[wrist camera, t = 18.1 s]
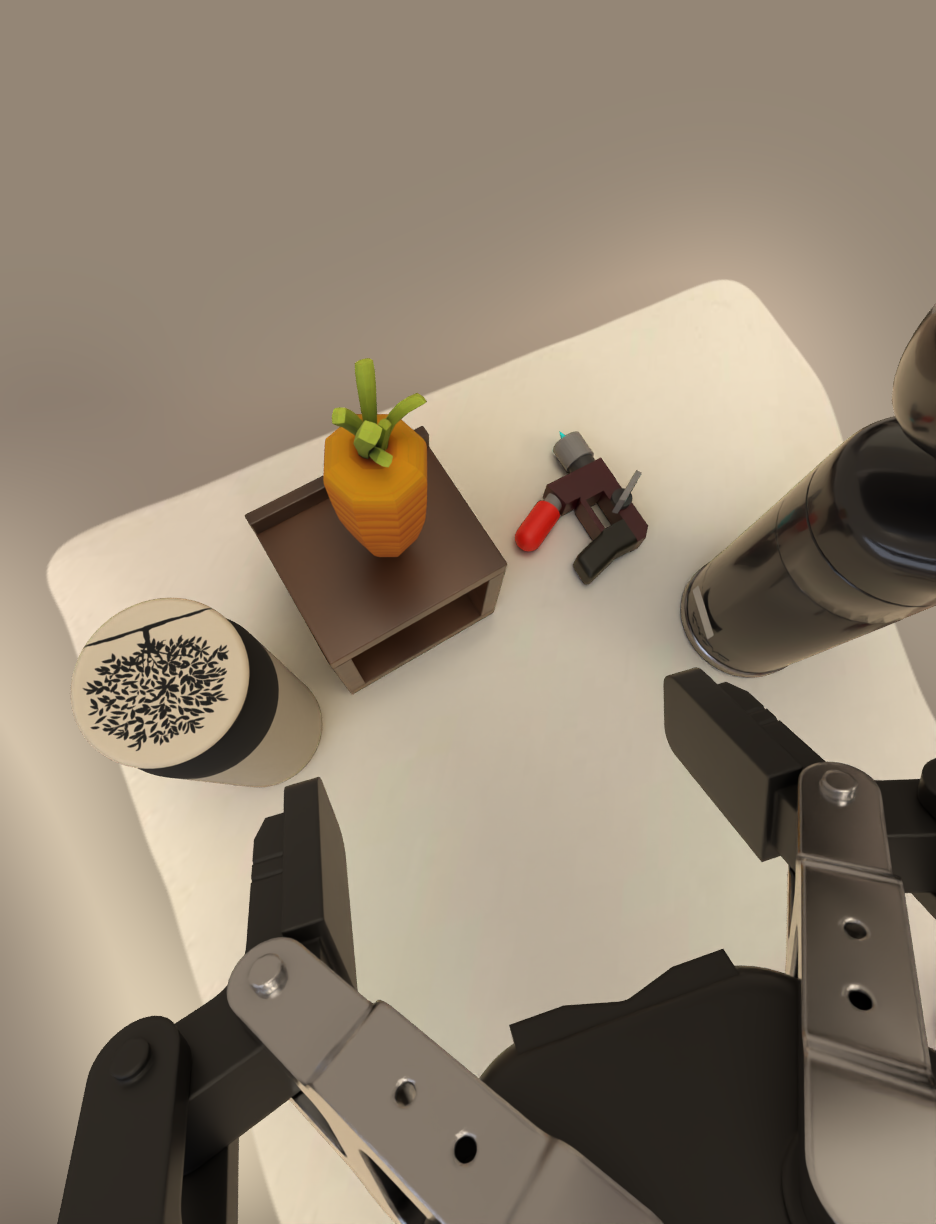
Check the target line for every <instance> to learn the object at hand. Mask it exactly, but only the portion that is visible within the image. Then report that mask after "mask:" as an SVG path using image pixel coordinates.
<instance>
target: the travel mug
mask: <svg viewBox="0 0 936 1224" xmlns="http://www.w3.org/2000/svg"><path fill="white" fill-rule="evenodd" d="M71 705H72V711H73V714H74V718H75V721H76V723H77V725H78V727H79V729H80V731H81V733H82V734H83V736H84V737H85V739H86V740H87V741H88V742H89V743H90V745H92V747H94V748H95V749H96V750H97V751H98V752H99V753H101V754H102V755H103V756H105V757H107V758H109V759H110V760H112V761H115V762H117V763H120V764H123V765H126V766H130V767H135V768H139V769H141V770H143V771H145V772H147V773H150V774H153V775H157V776H162V777H169V778H178V779H187V780H195V781H204V782H213V783H222V784H231V785H240V786H248V787H267V786H272V785H276V784H279V783H282V782H284V781H286V780H288V779H290V778H291V777H293V776H294V775H296V774H297V773H298V772H300V771H301V770H302V769H303V768H304V767H305V766H306V765H307V763H308V762H309V761H310V759H311V758H312V756H313V755H314V753H315V751H316V749H317V746H318V744H319V741H320V737H321V730H322V718H321V712H320V708H319V705H318V703H317V701H316V699H315V697H314V695H313V694H312V692H311V691H310V690H309V689H308V688H307V687H306V686H305V685H304V684H303V683H302V682H301V681H300V680H299V679H298V678H297V677H296V676H295V675H294V674H293V673H292V672H290V671H289V670H288V669H287V668H286V667H285V666H284V665H283V664H282V663H281V662H280V661H279V660H278V659H277V658H276V657H274V656H273V655H272V654H271V653H270V652H269V651H268V650H267V649H266V648H265V647H264V646H263V645H262V644H261V643H260V642H258V641H257V640H256V639H255V638H254V637H253V636H252V635H251V634H250V633H249V632H248V631H247V630H245V629H244V628H243V627H242V626H240V625H238V624H237V623H235V622H233V621H231V620H229V619H227V618H225V617H224V616H222V615H221V614H220V613H218V612H217V611H216V610H214V609H212V608H210V607H208V606H206V605H204V604H202V603H199V602H196V601H192V600H187V599H181V598H160V599H154V600H149V601H145V602H141V603H139V604H136V605H133V606H131V607H129V608H127V609H125V610H123V611H121V612H119V613H118V614H116V615H115V616H113V617H112V618H110V619H109V620H108V621H107V622H105V623H104V624H103V625H102V626H101V627H100V628H99V629H98V630H97V631H96V632H95V633H94V634H93V635H92V637H91V638H90V639H89V641H88V642H87V643H86V645H85V647H84V648H83V650H82V652H81V654H80V656H79V658H78V660H77V663H76V665H75V668H74V672H73V676H72V682H71Z"/></svg>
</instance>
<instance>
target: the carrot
mask: <svg viewBox="0 0 936 1224" xmlns="http://www.w3.org/2000/svg"><path fill="white" fill-rule="evenodd" d="M355 375H356V383H357V389H358V395H359V401H360V407H361V413H362V414H355V413H354V412H352V411H351V410H349V409H347V408H335V409H334V410H333V414H332V422H333V424H335V425H337V426H340V427H339V428H338V429H337V430H336V431H335V432H333V433H332V434H331V435H330V436H329V437H327V438H326V440H325V453H324V477H323V481H324V486H325V488H326V491H327V493H328V496H329V498H330V501H331V503H332V505H333V507H334V510H335V512H336V514H337V516H338V518H339V520H340V521H341V522H342V524H343V525H344V526H345V527H346V529H347V530H348V531H349V532H350V533H351V534H352V535H353V536H354V537H355V538H356V539H357V540H358V541H359V542H360V543H361V544H362V545H363V546H364V547H365V548H366V549H368V550H369V551H370V552H371V553H372V554H373V555H374V556H377V557H398V556H399V555H400V554H401V553H403V552H404V551H405V550H406V549H407V548H408V547H409V546H410V545H411V544H412V543H413V542H414V541H415V540H416V539H417V538H418V536H419V534H420V532H421V530H422V527H423V524H424V522H425V518H426V507H427V445H426V442H425V441H424V439H423V438H422V437H421V436H419V435H418V434H417V433H416V432H415V431H414V430H413V429H411V428H410V427H409V426H408V425H407V424H406V423H405V422H403V421H402V420H401V419H402V418H403V417H404V416H405V415H406V414H408V413H409V412H411V411H412V410H414V409H416V408H418V407H420V406H421V405H423V404H425V403H426V402H427V401H426V400H425V398H424V397H423V396H421V395H420V394H418V393H416V394H413V395H411V396H409V397H407V398H406V399H404V400H403V401H401V402H399V403H398V404H397V405H396V406H395V407H394V408H393V409H392V410H391V412H390V413H389V414H377V404H376V382H375V370H374V365H373V360H371V359H370V358H367V359H362V360H359V361H358V362H356V363H355Z"/></svg>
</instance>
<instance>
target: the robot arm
mask: <svg viewBox="0 0 936 1224" xmlns="http://www.w3.org/2000/svg"><path fill="white" fill-rule="evenodd" d="M892 404H893V408H894V414H895V416H894V417H890V418H886V419H884V420H880V421H877V422H875V423H872V424H870V425H868V426H866V427H864V428H862V429H861V430H859V431H858V432H856V433H855V434H853V435H852V436H851V437H849V438H848V439H847V440H846V441H844V442H843V443H842V444H841V445H840V446H839V447H838V448H836V449H835V450H834V451H833V452H832V453H831V454H830V455H829V456H828V457H827V458H826V459H824V460H823V461H822V462H821V463H820V464H819V465H818V466H817V467H815V468H814V469H813V470H812V471H811V472H810V473H809V474H808V475H806V476H805V477H804V478H803V479H802V480H801V481H800V482H799V483H798V484H796V485H795V486H794V487H793V488H792V489H791V490H790V491H789V492H788V493H787V494H786V495H785V496H784V497H782V498H781V499H780V500H779V501H778V502H777V503H776V504H775V505H774V506H772V507H771V508H770V509H769V510H768V511H767V512H766V513H765V514H763V515H762V516H761V517H760V518H759V519H758V520H757V521H756V522H755V523H753V524H752V525H751V526H750V527H749V528H748V529H747V530H746V531H745V532H743V533H742V534H741V535H740V536H739V537H738V538H737V539H736V540H735V541H733V542H732V543H731V544H730V545H729V546H728V547H727V548H726V549H725V550H723V551H722V552H721V553H720V554H719V555H717V556H716V557H715V558H714V559H713V560H712V561H711V562H709V563H707V564H706V565H705V566H703V567H702V568H701V569H700V570H699V571H698V572H697V573H696V574H695V575H694V576H693V577H692V578H691V579H690V581H689V582H688V584H687V586H686V588H685V590H684V593H683V596H682V601H681V618H682V623H683V627H684V630H685V633H686V635H687V637H688V639H689V641H690V643H691V644H692V646H693V647H694V649H695V650H696V651H697V652H698V653H699V655H700V656H701V657H702V658H704V659H705V660H706V661H707V662H708V663H710V664H711V665H712V666H714V667H716V668H717V669H719V670H721V671H723V672H726V673H728V674H731V675H735V676H740V677H761V676H766V675H769V674H772V673H774V672H777V671H779V670H781V669H783V668H785V667H787V666H788V665H790V664H793V663H795V662H798V661H801V660H803V659H806V658H808V657H811V656H813V655H816V654H818V653H821V652H823V651H826V650H828V649H831V648H833V647H836V646H838V645H840V644H843V643H845V642H848V641H850V640H853V639H855V638H858V637H860V636H863V635H865V634H868V633H870V632H873V631H875V630H878V629H880V628H882V627H885V626H887V625H890V624H892V623H895V622H897V621H900V620H902V619H904V618H906V617H909V616H911V615H913V614H916V613H919V612H921V611H924V610H926V609H928V608H931V607H933V606H936V304H935V305H934V306H933V307H932V309H931V310H930V311H929V313H928V314H927V315H926V317H925V318H924V319H923V321H922V322H921V324H920V325H919V327H918V328H917V330H916V331H915V333H914V334H913V336H912V338H911V340H910V341H909V343H908V345H907V347H906V349H905V351H904V353H903V355H902V357H901V359H900V362H899V365H898V368H897V371H896V374H895V378H894V383H893V394H892ZM664 726H665V733H666V737H667V740H668V743H669V745H670V747H671V749H672V751H673V753H674V754H675V755H676V757H677V758H678V759H679V760H680V761H681V763H682V764H683V765H684V766H685V768H686V769H687V770H688V771H689V773H690V774H691V775H692V776H693V778H694V779H695V780H696V781H697V782H698V784H699V785H700V786H701V787H702V789H703V790H704V791H705V792H706V794H707V795H708V796H709V797H710V799H711V800H712V801H713V802H714V804H715V805H716V806H717V807H718V808H719V810H720V811H721V812H722V813H723V815H724V816H725V817H726V818H727V820H728V821H729V822H730V823H731V825H732V826H733V827H734V828H735V830H736V831H737V832H738V833H739V834H740V836H741V837H742V838H743V839H744V841H745V842H746V843H747V844H748V846H749V847H750V848H751V849H752V851H753V852H754V853H755V854H756V856H757V857H758V858H759V859H760V860H761V862H764V861H766V860H769V859H772V858H775V857H778V856H782V858H783V859H784V860H785V861H786V862H787V864H788V874H787V935H786V966H785V973H782V972H778V971H775V970H771V969H767V968H761V967H755V966H734V965H733V963H732V962H731V960H730V959H729V957H728V956H727V954H726V952H725V951H724V949H721V950H718V951H716V952H713V953H710V954H707V955H704V956H701V957H699V958H696V959H693V960H690V961H687V962H685V963H682V964H679V965H676V966H673V967H672V968H670V969H669V970H667V971H666V972H665V973H663V974H662V975H661V976H659V977H658V978H657V979H655V980H654V981H653V982H651V983H650V984H648V985H647V986H646V987H644V988H643V989H642V990H640V991H639V992H638V993H636V994H635V995H634V996H632V997H631V998H629V999H627V1000H625V1001H620V1002H608V1003H594V1004H580V1005H566V1006H561V1007H559V1008H556V1009H553V1010H550V1011H547V1012H545V1013H542V1014H539V1015H536V1016H533V1017H531V1018H528V1019H525V1020H522V1021H519V1022H516V1023H514V1024H511V1025H509V1026H510V1030H511V1034H512V1038H513V1042H514V1044H512V1045H511V1046H510V1047H508V1048H507V1049H506V1050H504V1051H503V1052H502V1053H501V1054H500V1055H499V1056H498V1057H497V1058H496V1059H495V1060H494V1061H492V1063H491V1064H490V1065H489V1066H488V1068H487V1069H486V1070H485V1071H484V1072H483V1074H482V1075H481V1077H480V1078H478V1077H476V1076H475V1075H474V1074H473V1073H472V1072H470V1071H469V1070H468V1069H467V1068H465V1067H464V1066H463V1065H462V1064H461V1063H459V1062H458V1061H457V1060H456V1059H455V1058H453V1057H452V1056H451V1055H450V1054H449V1053H447V1052H446V1051H445V1050H444V1049H443V1048H441V1047H440V1046H439V1045H438V1044H436V1043H435V1042H434V1041H433V1040H432V1039H430V1038H429V1037H428V1036H427V1035H426V1034H424V1033H423V1032H422V1031H421V1030H420V1029H418V1028H417V1027H416V1026H415V1025H414V1024H412V1023H411V1022H410V1021H409V1020H407V1019H406V1018H405V1017H404V1016H403V1015H401V1014H400V1013H399V1012H398V1011H397V1010H395V1009H394V1008H393V1007H392V1006H390V1005H389V1004H387V1003H386V1002H384V1001H381V1000H377V1001H376V1002H375V1003H371V1002H370V1001H368V1000H367V999H366V998H364V997H363V996H362V995H361V994H360V993H359V992H358V990H357V979H356V967H355V956H354V945H353V933H352V922H351V911H350V900H349V888H348V877H347V866H346V855H345V848H344V843H343V838H342V834H341V831H340V827H339V824H338V822H337V819H336V817H335V814H334V811H333V809H332V806H331V803H330V801H329V798H328V795H327V793H326V790H325V787H324V785H323V782H322V780H321V778H320V777H317V778H313V779H310V780H306V781H303V782H300V783H296V784H293V785H289V786H286V787H285V789H284V813H281V814H277V815H274V816H271V817H267V818H265V820H264V822H263V824H262V826H261V827H260V829H259V831H258V833H257V835H256V837H255V839H254V848H253V865H252V875H251V879H252V883H251V889H250V902H249V916H248V929H247V943H246V951H245V955H244V956H243V957H242V958H241V959H240V961H239V962H238V963H237V965H236V966H235V968H234V970H233V971H232V973H231V976H230V978H229V981H228V985H227V986H226V987H225V988H224V990H223V991H221V992H220V993H219V994H218V995H217V996H216V997H214V998H213V999H212V1000H210V1001H209V1002H207V1003H206V1004H204V1005H203V1006H201V1007H200V1008H198V1009H197V1010H195V1011H194V1012H192V1013H191V1014H189V1015H188V1016H186V1017H184V1018H183V1019H181V1020H180V1021H178V1022H177V1023H175V1024H174V1023H173V1022H172V1021H171V1020H169V1019H168V1018H165V1017H162V1016H150V1017H146V1018H142V1019H139V1020H137V1021H135V1022H133V1023H131V1024H129V1025H128V1026H126V1027H124V1028H123V1029H122V1030H121V1031H119V1032H118V1033H117V1034H116V1035H115V1036H114V1037H113V1038H111V1039H110V1041H109V1042H108V1043H107V1044H106V1045H105V1046H104V1047H103V1049H102V1050H101V1052H100V1053H99V1054H98V1056H97V1058H96V1059H95V1061H94V1063H93V1065H92V1067H91V1070H90V1072H89V1075H88V1079H87V1083H86V1088H85V1092H84V1097H83V1102H82V1107H81V1112H80V1117H79V1121H78V1126H77V1131H76V1136H75V1141H74V1146H73V1150H72V1155H71V1160H70V1165H69V1170H68V1174H67V1179H66V1184H65V1189H64V1194H63V1199H62V1204H61V1208H60V1213H59V1218H58V1223H57V1224H238V1152H239V1137H240V1136H241V1135H242V1134H244V1133H245V1132H246V1131H248V1130H249V1129H250V1128H252V1127H253V1126H254V1125H256V1124H257V1123H258V1122H260V1121H261V1120H262V1119H264V1118H265V1117H266V1116H268V1115H269V1114H270V1113H272V1112H273V1111H274V1110H276V1109H277V1108H278V1107H279V1106H281V1105H282V1104H283V1103H285V1102H286V1101H287V1100H290V1101H291V1102H292V1103H293V1105H294V1106H295V1107H296V1108H297V1109H298V1110H299V1111H300V1112H301V1113H302V1115H303V1116H304V1117H305V1118H306V1119H307V1120H308V1121H309V1122H310V1123H311V1125H312V1126H313V1127H314V1128H315V1129H316V1130H317V1131H318V1132H319V1133H320V1135H321V1136H322V1137H323V1138H324V1139H325V1140H326V1141H327V1142H328V1144H329V1145H330V1146H331V1147H332V1148H333V1149H334V1150H335V1151H336V1152H337V1154H338V1155H339V1156H340V1157H341V1158H342V1159H343V1160H344V1161H345V1162H346V1164H347V1165H348V1166H349V1167H350V1168H351V1169H352V1171H353V1172H354V1173H355V1174H356V1176H357V1177H358V1178H359V1179H360V1181H361V1182H362V1183H363V1185H364V1186H365V1188H366V1189H367V1190H368V1192H369V1193H370V1194H371V1195H372V1197H373V1198H374V1199H375V1200H376V1202H377V1203H378V1204H379V1205H380V1207H381V1208H382V1209H383V1210H384V1211H385V1212H386V1214H387V1215H388V1216H389V1217H390V1218H391V1219H392V1220H393V1221H394V1223H395V1224H936V1051H935V1050H934V1049H932V1048H930V1047H928V1044H927V1037H926V1031H925V1024H924V1018H923V1011H922V1004H921V998H920V991H919V985H918V978H917V972H916V965H915V958H914V952H913V945H912V939H911V932H910V925H909V919H908V912H907V906H906V899H905V893H912V894H913V895H914V897H915V898H916V899H917V900H918V901H919V902H920V903H921V904H922V905H923V906H924V907H925V908H926V909H927V911H928V912H929V913H930V914H931V915H932V916H933V917H934V918H935V919H936V758H935V759H933V760H931V761H929V762H927V763H926V764H925V765H924V767H923V770H922V774H921V778H920V779H908V780H883V781H882V780H873V779H872V778H871V777H870V776H869V775H867V774H866V773H865V772H863V771H861V770H859V769H857V768H855V767H852V766H850V765H846V764H842V763H837V762H825V761H824V760H823V759H822V758H821V757H820V756H819V755H818V754H817V753H815V752H814V751H813V750H812V749H811V748H810V747H809V746H808V745H807V744H805V743H804V742H803V741H802V740H801V739H800V738H799V737H798V736H797V735H795V734H794V733H793V732H792V731H791V730H790V729H789V728H788V727H787V726H785V725H784V724H783V723H782V722H781V721H780V720H779V721H778V720H777V718H776V717H775V716H774V715H773V714H772V713H771V712H770V711H769V710H768V709H764V706H763V705H762V704H761V703H760V702H759V701H758V700H757V699H755V698H754V697H753V696H752V695H751V694H750V693H749V692H747V691H745V690H743V689H741V688H738V687H736V686H734V685H732V684H730V683H727V682H724V683H721V684H716V683H715V682H714V681H713V680H712V679H711V678H710V677H709V676H708V675H707V674H706V673H705V672H704V671H703V670H701V669H700V668H697V667H696V668H692V669H689V670H685V671H682V672H678V673H675V674H672V675H668V676H666V677H665V679H664Z"/></svg>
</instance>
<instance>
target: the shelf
mask: <svg viewBox="0 0 936 1224" xmlns="http://www.w3.org/2000/svg"><path fill="white" fill-rule="evenodd" d="M414 431H415V432H416V433H417V434H418V435H419V436H421V437H422V438H423V439H424V441H425V442H426V445H427V507H426V518H425V522H424V524H423V527H422V530H421V532H420V534H419V536H418V538H417V539H416V540H415V541H414V542H413V543H412V544H411V545H410V546H409V547H408V548H407V549H406V550H405V551H404V552H403V553H401V554H400V555H399V556H398V557H377V556H374V555H373V554H372V553H371V552H370V551H369V550H368V549H366V548H365V547H364V546H363V545H362V544H361V543H360V542H359V541H358V540H357V539H356V538H355V537H354V536H353V535H352V534H351V533H350V532H349V531H348V530H347V529H346V527H345V526H344V525H343V524H342V522H341V521H340V520H339V518H338V516H337V514H336V512H335V510H334V507H333V505H332V503H331V501H330V498H329V496H328V493H327V491H326V488H325V486H324V481H323V477H324V475H323V476H321V477H319V478H317V479H315V480H313V481H311V482H309V483H307V484H306V485H304V486H302V487H300V488H298V489H296V490H294V491H292V492H290V493H288V494H286V495H284V496H282V497H280V498H278V499H276V500H274V501H272V502H270V503H268V504H266V505H264V506H262V507H260V508H258V509H256V510H254V511H252V512H250V513H248V514H246V515H245V518H246V519H247V521H248V523H249V525H250V526H251V528H252V529H253V531H254V532H255V534H256V535H257V537H258V539H259V541H260V543H261V544H262V546H263V548H264V550H265V551H266V553H267V555H268V557H269V558H270V560H271V562H272V564H273V565H274V567H275V569H276V571H277V573H278V574H279V576H280V578H281V580H282V581H283V583H284V585H285V587H286V588H287V590H288V592H289V594H290V596H291V597H292V599H293V601H294V603H295V604H296V606H297V608H298V610H299V611H300V613H301V615H302V617H303V619H304V620H305V622H306V624H307V626H308V627H309V629H310V631H311V633H312V634H313V636H314V638H315V640H316V641H317V643H318V645H319V647H320V649H321V650H322V652H323V654H324V656H325V657H326V659H327V661H328V663H329V664H330V666H331V667H332V668H333V670H334V671H335V672H336V674H337V675H338V676H339V678H340V679H341V680H342V682H343V683H344V685H345V686H346V687H347V689H348V690H349V691H350V693H351V694H354V693H356V692H357V691H359V690H361V689H363V688H364V687H366V686H368V685H369V684H371V683H373V682H375V681H376V680H378V679H380V678H381V677H383V676H385V675H387V674H388V673H390V672H392V671H394V670H395V669H397V668H399V667H400V666H402V665H404V664H406V663H407V662H409V661H411V660H412V659H414V658H416V657H418V656H419V655H421V654H423V653H424V652H426V651H428V650H430V649H431V648H433V647H435V646H437V645H438V644H440V643H442V642H443V641H445V640H447V639H449V638H450V637H452V636H454V635H455V634H457V633H459V632H461V631H462V630H464V629H466V628H467V627H469V626H471V625H473V624H474V623H476V622H478V621H480V620H481V619H483V618H485V617H486V616H488V615H490V614H492V613H493V612H494V608H495V605H496V601H497V598H498V595H499V591H500V588H501V584H502V581H503V577H504V574H505V570H506V567H507V563H506V561H505V560H504V558H503V557H502V555H501V554H500V552H499V551H498V549H497V548H496V546H495V545H494V543H493V542H492V540H491V539H490V537H489V536H488V534H487V533H486V531H485V530H484V528H483V527H482V525H481V524H480V522H479V521H478V519H477V518H476V516H475V515H474V513H473V512H472V510H471V509H470V507H469V506H468V504H467V503H466V501H465V500H464V498H463V497H462V495H461V494H460V492H459V491H458V489H457V488H456V486H455V485H454V483H453V482H452V480H451V479H450V477H449V476H448V474H447V473H446V471H445V470H444V468H443V467H442V465H441V464H440V462H439V461H438V459H437V458H436V456H435V455H434V453H433V452H432V450H431V449H430V447H429V434H428V433H427V431H426V430H425V428H424V427H423V426H421V427H419V428H417V429H415V430H414Z"/></svg>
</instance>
